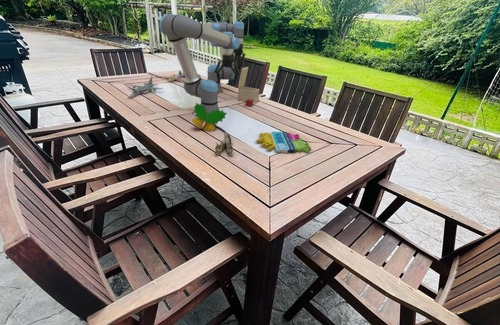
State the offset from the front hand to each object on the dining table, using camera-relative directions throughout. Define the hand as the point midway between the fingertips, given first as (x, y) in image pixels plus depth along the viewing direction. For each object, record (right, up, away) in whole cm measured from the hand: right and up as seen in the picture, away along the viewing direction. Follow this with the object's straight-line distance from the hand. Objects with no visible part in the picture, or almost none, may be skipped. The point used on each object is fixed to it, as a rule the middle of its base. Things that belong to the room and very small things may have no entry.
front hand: (226, 82), depth 209 cm
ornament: (-7, -43, -45) cm, 62 cm away
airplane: (-73, -3, +17) cm, 75 cm away
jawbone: (+5, -58, -71) cm, 92 cm away
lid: (+13, +7, +10) cm, 18 cm away
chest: (+17, -10, +16) cm, 26 cm away
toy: (-59, +24, +68) cm, 93 cm away
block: (+18, -18, +3) cm, 25 cm away
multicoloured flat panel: (+37, -53, -57) cm, 86 cm away
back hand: (+8, +11, +11) cm, 17 cm away
